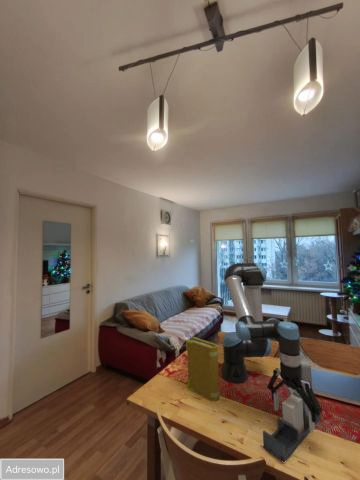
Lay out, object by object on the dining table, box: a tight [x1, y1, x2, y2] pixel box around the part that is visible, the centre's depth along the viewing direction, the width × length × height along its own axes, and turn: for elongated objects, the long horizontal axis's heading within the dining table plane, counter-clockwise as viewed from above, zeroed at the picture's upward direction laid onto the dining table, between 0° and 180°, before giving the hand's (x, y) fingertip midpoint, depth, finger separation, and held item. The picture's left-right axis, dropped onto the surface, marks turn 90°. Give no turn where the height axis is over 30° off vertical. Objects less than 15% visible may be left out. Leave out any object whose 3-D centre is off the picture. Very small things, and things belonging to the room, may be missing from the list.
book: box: [185, 336, 220, 402], centre depth 111 cm, size 17×7×25 cm, turn 47°
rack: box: [262, 386, 322, 463], centre depth 85 cm, size 8×31×12 cm, turn 127°
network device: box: [287, 350, 313, 396], centre depth 109 cm, size 26×9×20 cm, turn 168°
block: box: [281, 394, 304, 435], centre depth 85 cm, size 4×8×11 cm, turn 127°
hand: (293, 418), depth 85 cm, fingers open, 13 cm apart
